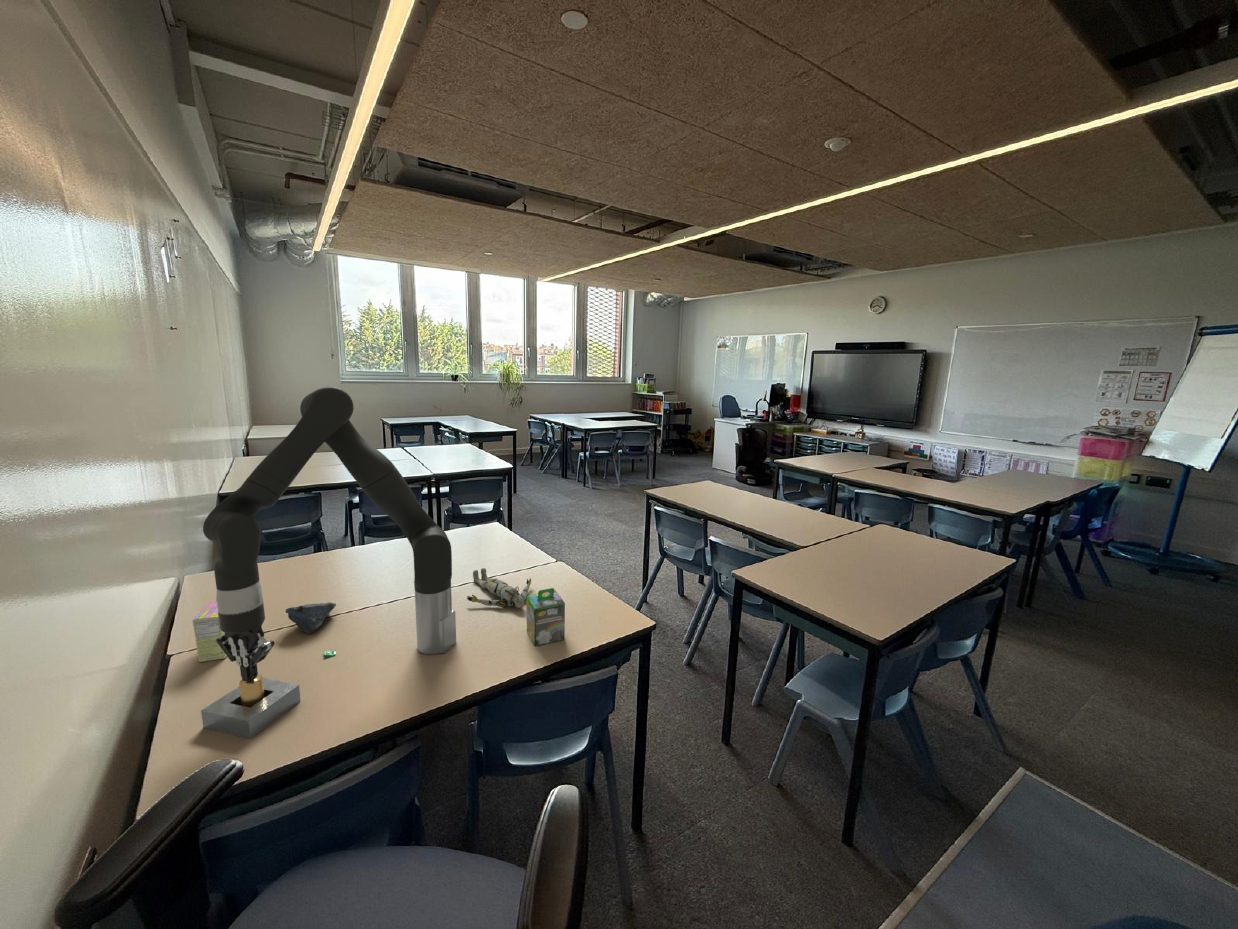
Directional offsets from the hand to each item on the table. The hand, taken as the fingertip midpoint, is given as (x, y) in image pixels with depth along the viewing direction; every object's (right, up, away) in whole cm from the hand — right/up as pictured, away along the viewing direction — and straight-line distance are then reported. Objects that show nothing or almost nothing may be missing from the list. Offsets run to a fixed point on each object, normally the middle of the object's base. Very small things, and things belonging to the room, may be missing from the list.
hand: (249, 679), depth 104 cm
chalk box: (+58, -4, +37) cm, 68 cm away
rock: (-11, -1, +39) cm, 41 cm away
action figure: (+38, +1, +61) cm, 72 cm away
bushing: (0, -8, +2) cm, 8 cm away
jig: (0, -8, +2) cm, 8 cm away
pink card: (+3, -5, +24) cm, 25 cm away
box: (-26, -3, +24) cm, 36 cm away
